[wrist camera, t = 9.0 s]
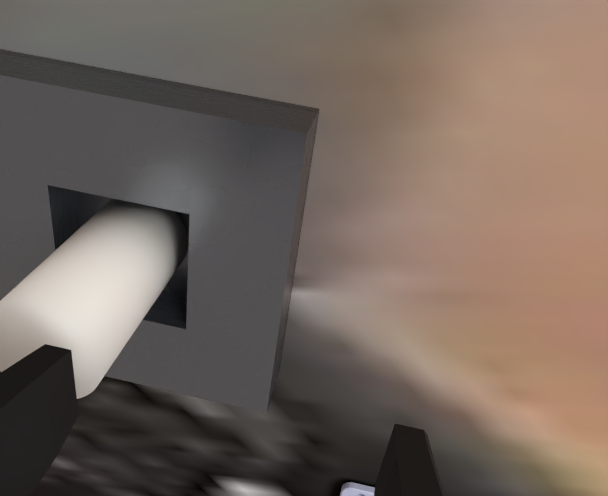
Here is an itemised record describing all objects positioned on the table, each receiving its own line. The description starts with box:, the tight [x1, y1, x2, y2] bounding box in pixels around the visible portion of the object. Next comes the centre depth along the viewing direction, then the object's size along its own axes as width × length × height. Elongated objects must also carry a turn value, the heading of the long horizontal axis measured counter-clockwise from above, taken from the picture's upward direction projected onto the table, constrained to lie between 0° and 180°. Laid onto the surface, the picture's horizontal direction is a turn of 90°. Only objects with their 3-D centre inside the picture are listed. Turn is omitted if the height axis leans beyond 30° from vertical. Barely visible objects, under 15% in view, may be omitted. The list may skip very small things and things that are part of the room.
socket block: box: [0, 49, 319, 413], centre depth 21 cm, size 12×12×2 cm
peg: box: [0, 198, 188, 399], centre depth 19 cm, size 4×4×7 cm
